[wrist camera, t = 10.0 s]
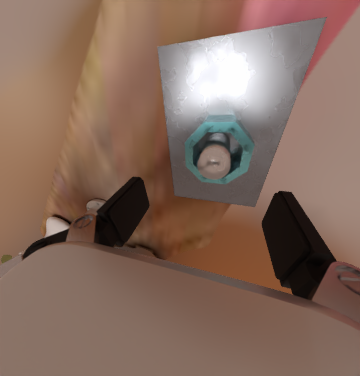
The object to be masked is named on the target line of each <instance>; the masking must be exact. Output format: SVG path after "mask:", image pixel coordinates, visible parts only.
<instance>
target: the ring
mask: <svg viewBox="0 0 360 376" xmlns="http://www.w3.org/2000/svg"><path fill="white" fill-rule="evenodd" d="M207 132H230V133H231V134H232V135H233V136H234V138H235V139H236V140H237V141H238V142H239V149H238V154H236V155H235V156H233V157H232V158H231V159H230V170H229V172H228V173H227V174H226V175H225V176H224V177H222V178H220V179H215V180H212V179H208V178H205V177H204V176H202V175H201V174H200V172H199V170H198V167H197V164H198V160H199V157H200V155H201V154H200V153H199V140H200V139H201V138H202V137H203V136H204V135H205V134H206V133H207ZM254 146H255V144H254V142H253V140H252V137H251V135H250V133H249V132H248V131H247V130H246V129H245V127H244V126H243V125H242V124H241V122H240V121H239V120H238V119H237V117H236V116H235V115H209V116H208V117H207V118H206V119H205V120H204V121H203V122H202V123H201V125H200V126H199V127H198V128H197V129H196V130H195V131H194V132H193V133H192V134H191V135H190V136H189V138H188V139H187V140H186V142H185V160H186V167H187V168H188V169H189V170H190V171H191V172H192V173H193V174H194V175H195V176H196V177H197V178H198V179H199V180H200V181H201V182H208V183H217V184H227V183H228V182H230V181H232V180H233V179H235V178H237V177H238V176H240V175H242V174H244V173H245V172H247V171H248V167H249V163H250V160H251V156H252V152H253V149H254Z"/></svg>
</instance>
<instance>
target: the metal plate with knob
mask: <svg viewBox="0 0 360 376" xmlns="http://www.w3.org/2000/svg"><path fill="white" fill-rule="evenodd" d="M326 18H327V17H324V18H318V19H313V20H307V21H301V22H296V23H290V24H284V25H279V26H273V27H267V28H262V29H256V30H251V31H245V32H239V33H234V34H228V35H222V36H217V37H211V38H205V39H200V40H194V41H188V42H183V43H177V44H172V45H166V46H160V47H158V56H159V65H160V73H161V82H162V91H163V99H164V108H165V117H166V125H167V134H168V143H169V152H170V160H171V169H172V178H173V186H174V195H175V196H180V197H187V198H194V199H201V200H209V201H216V202H223V203H230V204H237V205H244V206H252V207H255V205H256V203H257V200H258V197H259V195H260V192H261V189H262V187H263V184H264V182H265V179H266V176H267V174H268V171H269V168H270V166H271V163H272V161H273V158H274V155H275V152H276V150H277V147H278V145H279V142H280V139H281V137H282V134H283V131H284V129H285V126H286V123H287V121H288V118H289V116H290V113H291V110H292V108H293V105H294V103H295V100H296V97H297V95H298V92H299V89H300V87H301V84H302V81H303V79H304V76H305V74H306V71H307V68H308V66H309V63H310V60H311V58H312V55H313V52H314V50H315V47H316V45H317V42H318V39H319V37H320V34H321V31H322V29H323V26H324V23H325V21H326ZM209 115H235V116H236V117H237V119H238V120H239V121H240V122H241V124H242V125H243V126H244V127H245V129H246V130H247V131H248V132H249V133H250V135H251V137H252V140H253V142H254V144H255V146H254V149H253V152H252V156H251V160H250V163H249V167H248V171H247V172H245V173H244V174H242V175H240V176H238V177H237V178H235V179H233V180H232V181H230V182H228V183H227V184H217V183H208V182H201V181H200V180H199V179H198V178H197V177H196V176H195V175H194V174H193V173H192V172H191V171H190V170H189V169H188V168H187V167H186V160H185V142H186V140H187V139H188V138H189V136H190V135H191V134H192V133H193V132H194V131H195V130H196V129H197V128H198V127H199V126H200V125H201V123H202V122H203V121H204V120H205V119H206V118H207V117H208V116H209ZM238 149H239V142H238V141H237V140H236V139H235V138H234V136H233V135H232V134H231V133H230V132H207V133H206V134H205V135H204V136H203V137H202V138H201V139H200V140H199V153H200V154H201V155H200V157H199V160H198V164H197V167H198V170H199V172H200V174H201V175H202V176H204V177H205V178H208V179H212V180H215V179H220V178H222V177H224V176H225V175H226V174H227V173H228V172H229V170H230V159H231V158H232V157H233V156H235V155H236V154H238Z"/></svg>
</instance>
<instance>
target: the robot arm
mask: <svg viewBox="0 0 360 376" xmlns="http://www.w3.org/2000/svg"><path fill="white" fill-rule="evenodd" d="M148 208H149V201H148V197H147V193H146V189H145V185H144V182H143V180H142V179H141V178H140V177H132V178H131V179H130V180H129V181H128V182H127V183H126V184H125V185H124V186H122V187H121V188H120V189H119V190H118V191H117V192H116V193H115V194H114V195H113V196H112V197H111V198H110V199H109V200H108V201H107V202H106V201H104V200H100V199H93V200H91V201H89V202H88V203H87V212H86V213H85V214H84V215H82V216H80V217H78V218H76V219H75V220H74V221H73V222H72V223H71V225H70V227H69V228H68V229H66V230H64V231H61V232H58V233H56V234H53V235H50V236H48V237H45V238H43V239H40V240H38V241H36V242H34V243H33V244H32V245H31V246H30V247H28V249H27V250H26V251H25V252H24V254H19V255H18V256H16V257H14V258H12V259H10V260H8V261H7V262H5V263H3V264H1V265H0V376H360V269H359V268H357V267H355V266H353V265H351V264H348V263H345V262H339V261H336V259H335V258H334V256H333V255H332V253H331V252H330V250H329V249H328V247H327V245H326V244H325V242H324V241H323V239H322V238H321V236H320V235H319V233H318V232H317V230H316V229H315V227H314V226H313V224H312V222H311V221H310V219H309V218H308V217H307V215H306V214H305V212H304V210H303V209H302V207H301V206H300V204H299V203H298V201H297V200H296V198H295V197H294V195H293V194H292V192H285V191H279V192H278V193H275V194H274V196H273V198H272V200H271V203H270V205H269V207H268V210H267V212H266V214H265V216H264V218H263V220H262V228H263V232H264V236H265V239H266V243H267V247H268V250H269V253H270V258H271V261H272V265H273V269H274V272H275V276H276V278H277V279H279V280H280V283H281V286H282V287H287V288H291V290H292V293H293V295H291V294H288V293H285V292H281V291H277V290H274V289H271V288H267V287H263V286H259V285H256V284H253V283H249V282H245V281H241V280H238V279H234V278H230V277H226V276H222V275H219V274H215V273H211V272H207V271H204V270H200V269H196V268H192V267H188V266H184V265H180V264H177V263H172V262H169V261H165V260H161V259H157V258H153V257H149V256H145V255H141V254H138V253H134V252H129V251H125V250H122V249H118V248H114V245H115V244H116V245H119V246H123V245H124V243H125V242H127V241H128V239H129V238H130V236H131V235H132V233H133V232H134V230H135V229H136V227H137V225H138V224H139V222H140V221H141V219H142V218H143V216H144V215H145V213H146V211H147V210H148Z"/></svg>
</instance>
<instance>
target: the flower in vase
mask: <svg viewBox="0 0 360 376" xmlns="http://www.w3.org/2000/svg"><path fill="white" fill-rule="evenodd" d="M69 227H70V224H68V223H67V222H66V221H64V220H62V219H60V218H57V217H49V218H48V219H47V222H46V228H47V233H46V236H45V237H48V236H50V235H53V234H56V233H58V232H61V231H64V230H66V229H68V228H69ZM45 237H44V238H45ZM24 252H25V251H23V252H19V254H24ZM10 259H12V256H10V255H3V256H2V259H1V261H2V264H3V263H5V262H7V261H8V260H10Z"/></svg>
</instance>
